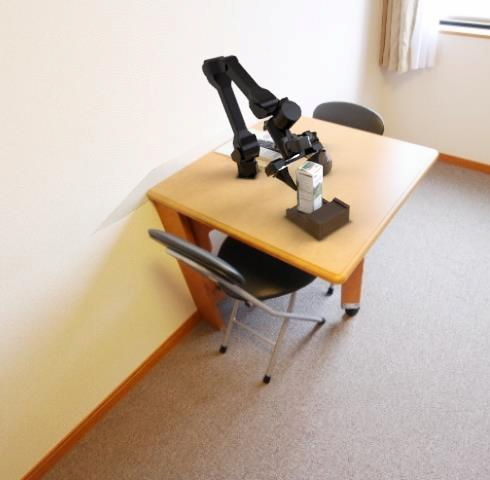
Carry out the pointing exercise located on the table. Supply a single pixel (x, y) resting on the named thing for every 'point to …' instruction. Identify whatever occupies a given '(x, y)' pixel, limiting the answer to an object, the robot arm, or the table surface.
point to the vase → (325, 161)
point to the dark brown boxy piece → (321, 217)
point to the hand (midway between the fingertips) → (308, 184)
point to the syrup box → (309, 186)
